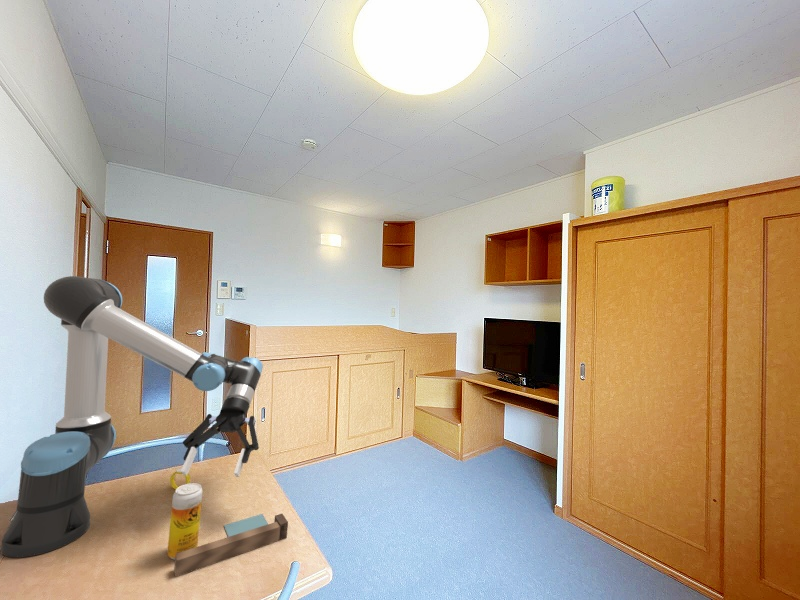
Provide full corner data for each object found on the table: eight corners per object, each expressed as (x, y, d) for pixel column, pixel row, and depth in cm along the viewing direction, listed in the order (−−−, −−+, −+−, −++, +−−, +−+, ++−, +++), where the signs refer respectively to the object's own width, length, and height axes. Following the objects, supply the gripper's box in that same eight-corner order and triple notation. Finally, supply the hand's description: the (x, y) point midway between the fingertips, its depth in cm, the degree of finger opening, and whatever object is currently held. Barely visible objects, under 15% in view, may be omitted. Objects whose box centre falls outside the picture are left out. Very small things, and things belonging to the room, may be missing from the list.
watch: (190, 488, 109) (193, 469, 109) (183, 492, 106) (187, 473, 106) (173, 484, 110) (176, 466, 110) (166, 488, 107) (170, 470, 107)
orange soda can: (179, 565, 77) (185, 497, 77) (160, 556, 79) (167, 491, 79) (202, 548, 82) (208, 485, 83) (185, 540, 84) (191, 480, 85)
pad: (231, 545, 84) (231, 544, 84) (223, 526, 91) (224, 525, 91) (271, 532, 90) (272, 530, 90) (262, 514, 97) (262, 513, 97)
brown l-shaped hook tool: (175, 577, 73) (176, 558, 73) (173, 564, 77) (175, 546, 77) (286, 537, 88) (288, 522, 88) (281, 528, 92) (282, 513, 92)
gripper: (280, 410, 109) (260, 480, 93) (200, 406, 107) (166, 478, 91) (276, 397, 104) (255, 470, 88) (192, 394, 102) (155, 467, 86)
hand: (210, 474), depth 90 cm, fingers open, 13 cm apart
